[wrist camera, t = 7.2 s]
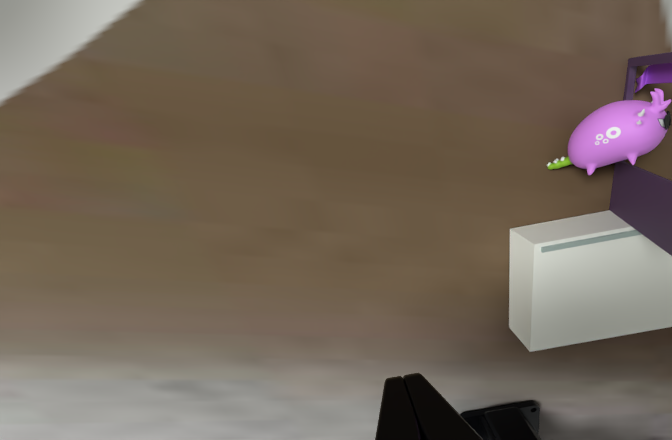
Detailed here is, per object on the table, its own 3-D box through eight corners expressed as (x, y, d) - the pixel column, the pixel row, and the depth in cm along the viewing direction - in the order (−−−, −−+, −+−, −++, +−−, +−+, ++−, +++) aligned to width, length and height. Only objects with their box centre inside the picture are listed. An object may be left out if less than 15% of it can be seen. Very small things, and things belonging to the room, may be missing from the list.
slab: (643, 303, 23) (682, 326, 21) (508, 327, 23) (531, 353, 21) (663, 200, 20) (710, 213, 18) (510, 228, 21) (535, 245, 18)
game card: (708, 259, 14) (765, 37, 11) (572, 260, 16) (589, 69, 13) (629, 208, 20) (652, 54, 17) (536, 213, 22) (542, 74, 19)
